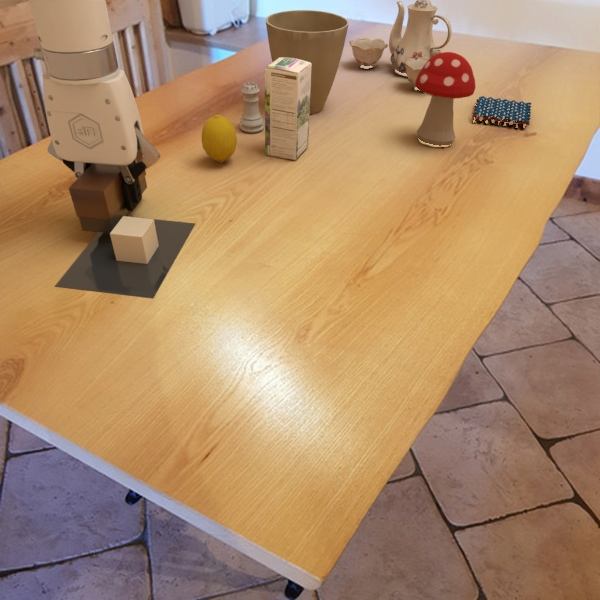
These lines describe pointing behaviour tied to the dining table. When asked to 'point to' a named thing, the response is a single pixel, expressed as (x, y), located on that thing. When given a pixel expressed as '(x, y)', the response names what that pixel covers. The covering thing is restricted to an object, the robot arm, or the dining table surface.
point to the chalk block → (134, 239)
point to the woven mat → (502, 110)
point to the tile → (126, 264)
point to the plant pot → (310, 46)
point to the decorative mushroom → (443, 95)
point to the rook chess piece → (251, 109)
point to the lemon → (219, 138)
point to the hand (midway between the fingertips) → (115, 203)
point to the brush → (101, 196)
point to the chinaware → (405, 41)
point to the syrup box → (287, 107)
